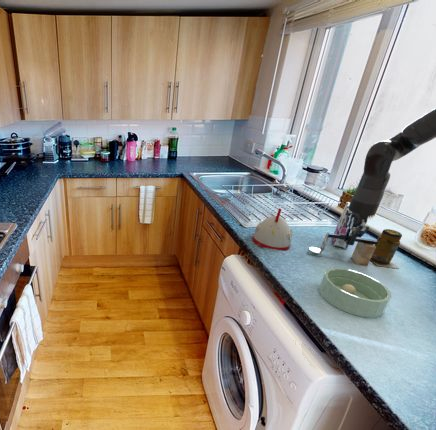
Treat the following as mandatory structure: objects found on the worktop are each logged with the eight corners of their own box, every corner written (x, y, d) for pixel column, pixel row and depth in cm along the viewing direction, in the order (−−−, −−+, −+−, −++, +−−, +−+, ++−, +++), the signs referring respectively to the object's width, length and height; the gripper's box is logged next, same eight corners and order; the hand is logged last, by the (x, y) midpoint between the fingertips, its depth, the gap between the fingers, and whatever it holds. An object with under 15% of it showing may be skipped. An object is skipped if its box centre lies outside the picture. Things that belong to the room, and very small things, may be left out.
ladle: (308, 255, 110) (316, 233, 106) (306, 250, 114) (313, 228, 110) (369, 266, 104) (380, 244, 100) (364, 260, 108) (374, 238, 104)
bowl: (369, 291, 91) (377, 274, 89) (392, 326, 78) (402, 307, 75) (312, 279, 96) (319, 263, 94) (325, 310, 83) (333, 293, 80)
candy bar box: (347, 249, 115) (363, 212, 108) (332, 245, 117) (346, 209, 110) (346, 238, 123) (361, 203, 116) (332, 235, 126) (346, 200, 119)
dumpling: (348, 279, 88) (354, 287, 85) (354, 288, 89) (360, 295, 86) (336, 284, 90) (341, 292, 87) (342, 292, 90) (347, 300, 87)
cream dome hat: (249, 244, 117) (257, 210, 111) (255, 231, 128) (263, 200, 121) (287, 254, 110) (299, 220, 104) (290, 240, 121) (301, 207, 114)
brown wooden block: (360, 258, 109) (369, 239, 105) (366, 267, 104) (376, 247, 100) (351, 257, 110) (359, 238, 106) (356, 265, 105) (365, 245, 101)
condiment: (383, 256, 111) (397, 228, 106) (399, 268, 103) (414, 239, 98) (362, 254, 112) (375, 226, 107) (376, 266, 104) (390, 237, 99)
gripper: (389, 208, 91) (367, 254, 98) (371, 194, 103) (353, 236, 110) (360, 204, 94) (342, 250, 101) (346, 191, 105) (330, 233, 113)
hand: (348, 242), depth 105 cm, fingers closed
